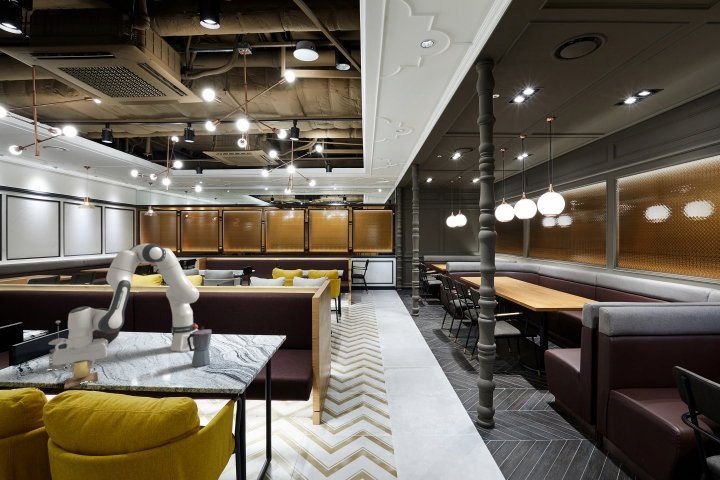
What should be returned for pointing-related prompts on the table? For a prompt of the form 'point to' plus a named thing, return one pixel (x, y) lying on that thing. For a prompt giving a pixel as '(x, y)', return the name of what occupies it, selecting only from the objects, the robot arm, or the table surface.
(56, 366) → the french press
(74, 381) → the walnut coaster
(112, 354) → the table surface
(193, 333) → the moka pot
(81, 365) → the ochre cup
